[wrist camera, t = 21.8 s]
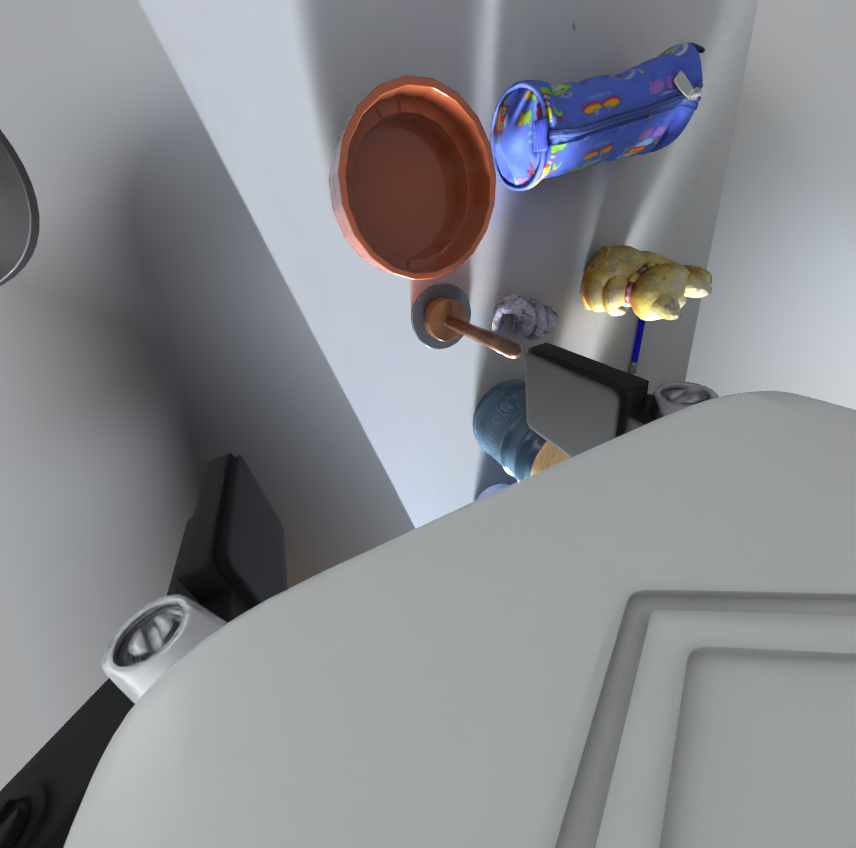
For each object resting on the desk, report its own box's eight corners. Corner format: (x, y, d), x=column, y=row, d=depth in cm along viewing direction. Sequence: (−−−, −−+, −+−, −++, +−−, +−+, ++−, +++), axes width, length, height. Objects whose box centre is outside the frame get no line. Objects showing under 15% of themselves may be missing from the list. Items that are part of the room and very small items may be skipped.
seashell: (480, 313, 48) (536, 318, 52) (492, 345, 46) (550, 348, 50) (501, 283, 43) (561, 291, 47) (515, 317, 41) (576, 322, 45)
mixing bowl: (301, 216, 34) (307, 213, 29) (376, 54, 31) (397, 19, 26) (421, 299, 42) (442, 307, 37) (490, 177, 39) (522, 169, 34)
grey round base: (399, 329, 43) (401, 330, 42) (433, 269, 41) (435, 270, 41) (447, 358, 47) (449, 359, 47) (479, 305, 46) (481, 305, 45)
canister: (524, 360, 52) (622, 407, 38) (548, 418, 60) (637, 475, 46) (457, 413, 52) (530, 480, 38) (489, 464, 59) (561, 536, 45)
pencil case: (644, 62, 40) (735, 20, 32) (637, 154, 45) (715, 136, 37) (478, 101, 36) (538, 63, 28) (490, 199, 40) (543, 189, 32)
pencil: (631, 371, 63) (636, 373, 62) (627, 373, 63) (632, 374, 62) (650, 272, 54) (656, 272, 54) (646, 273, 54) (651, 273, 53)
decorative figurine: (578, 319, 53) (671, 344, 41) (560, 273, 48) (660, 286, 36) (625, 276, 53) (734, 288, 41) (612, 226, 48) (730, 222, 36)
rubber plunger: (415, 325, 43) (483, 365, 29) (437, 288, 42) (517, 312, 28) (445, 344, 46) (520, 388, 32) (466, 310, 45) (552, 341, 31)
